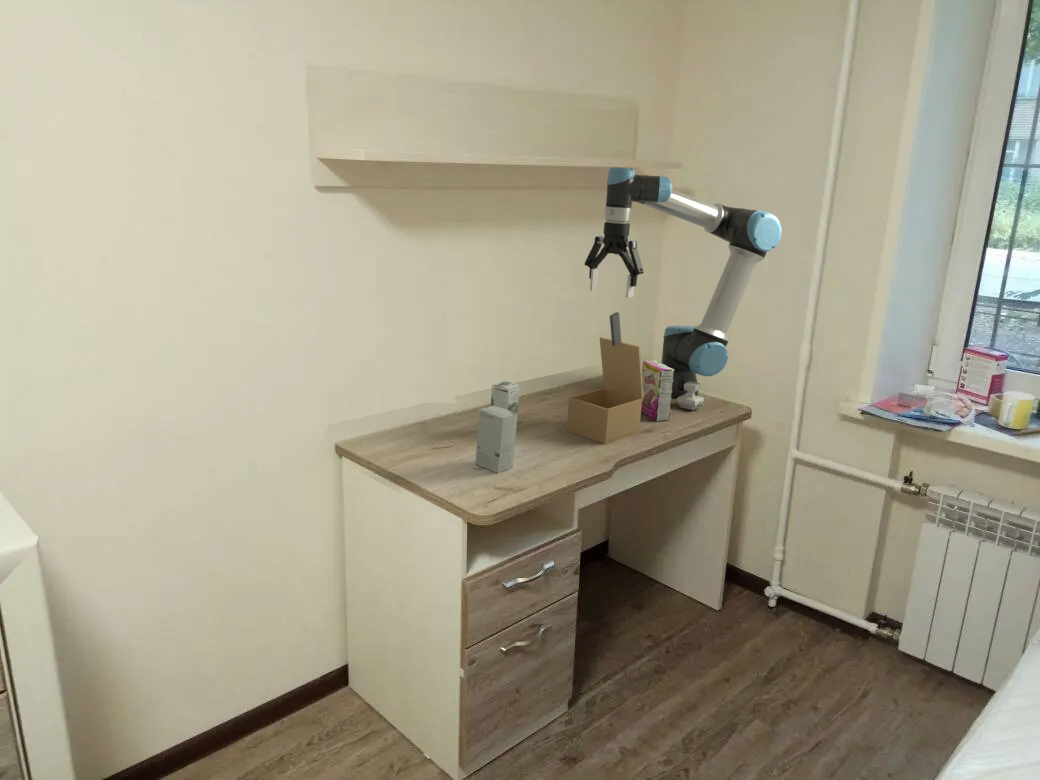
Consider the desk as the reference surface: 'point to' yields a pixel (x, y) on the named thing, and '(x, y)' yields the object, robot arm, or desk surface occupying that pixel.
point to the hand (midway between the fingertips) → (611, 293)
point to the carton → (604, 415)
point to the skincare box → (496, 438)
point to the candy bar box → (657, 390)
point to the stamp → (690, 397)
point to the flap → (621, 362)
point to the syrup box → (505, 396)
